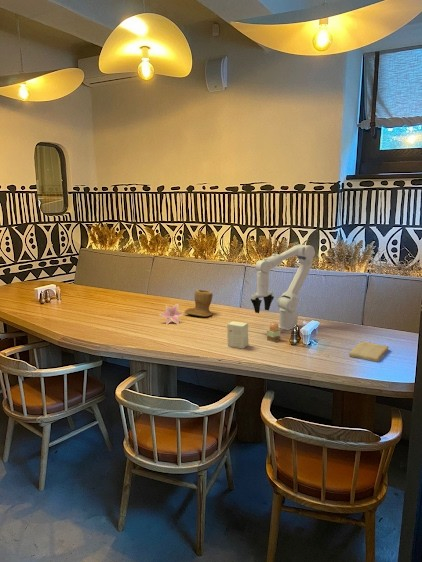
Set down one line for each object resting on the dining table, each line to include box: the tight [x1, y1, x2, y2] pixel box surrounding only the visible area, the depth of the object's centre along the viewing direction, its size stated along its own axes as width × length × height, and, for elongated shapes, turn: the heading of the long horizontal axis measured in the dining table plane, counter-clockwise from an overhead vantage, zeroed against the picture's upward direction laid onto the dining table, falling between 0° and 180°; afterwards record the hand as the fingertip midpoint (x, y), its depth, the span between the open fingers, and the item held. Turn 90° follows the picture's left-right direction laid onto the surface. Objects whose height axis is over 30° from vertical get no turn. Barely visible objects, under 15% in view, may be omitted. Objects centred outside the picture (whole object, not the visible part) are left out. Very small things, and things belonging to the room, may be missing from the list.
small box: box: [226, 321, 249, 349], centre depth 187 cm, size 8×6×10 cm
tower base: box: [266, 335, 281, 343], centre depth 195 cm, size 4×4×2 cm
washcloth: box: [349, 341, 390, 363], centre depth 176 cm, size 12×18×3 cm, turn 144°
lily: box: [158, 303, 184, 325], centre depth 226 cm, size 12×12×10 cm
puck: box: [269, 321, 279, 332], centre depth 194 cm, size 4×4×4 cm
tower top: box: [266, 328, 281, 337], centre depth 194 cm, size 4×4×2 cm
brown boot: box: [183, 289, 213, 317], centre depth 239 cm, size 15×12×15 cm
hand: (262, 311), depth 206 cm, fingers open, 7 cm apart
